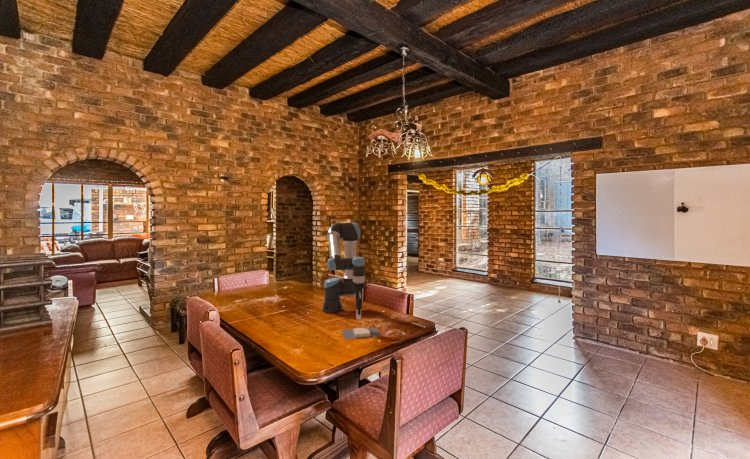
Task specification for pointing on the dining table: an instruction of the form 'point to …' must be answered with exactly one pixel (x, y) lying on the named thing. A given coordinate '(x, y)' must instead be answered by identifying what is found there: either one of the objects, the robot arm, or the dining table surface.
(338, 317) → the dining table surface
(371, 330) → the mat
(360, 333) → the tile
